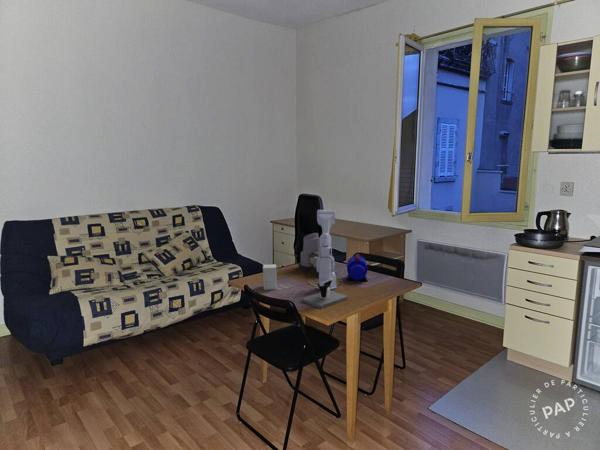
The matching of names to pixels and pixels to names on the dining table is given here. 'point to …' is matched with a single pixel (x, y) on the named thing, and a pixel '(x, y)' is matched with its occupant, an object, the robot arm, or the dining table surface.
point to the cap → (326, 294)
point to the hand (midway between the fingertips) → (324, 295)
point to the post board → (322, 303)
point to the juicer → (310, 254)
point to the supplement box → (269, 277)
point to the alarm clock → (357, 268)
